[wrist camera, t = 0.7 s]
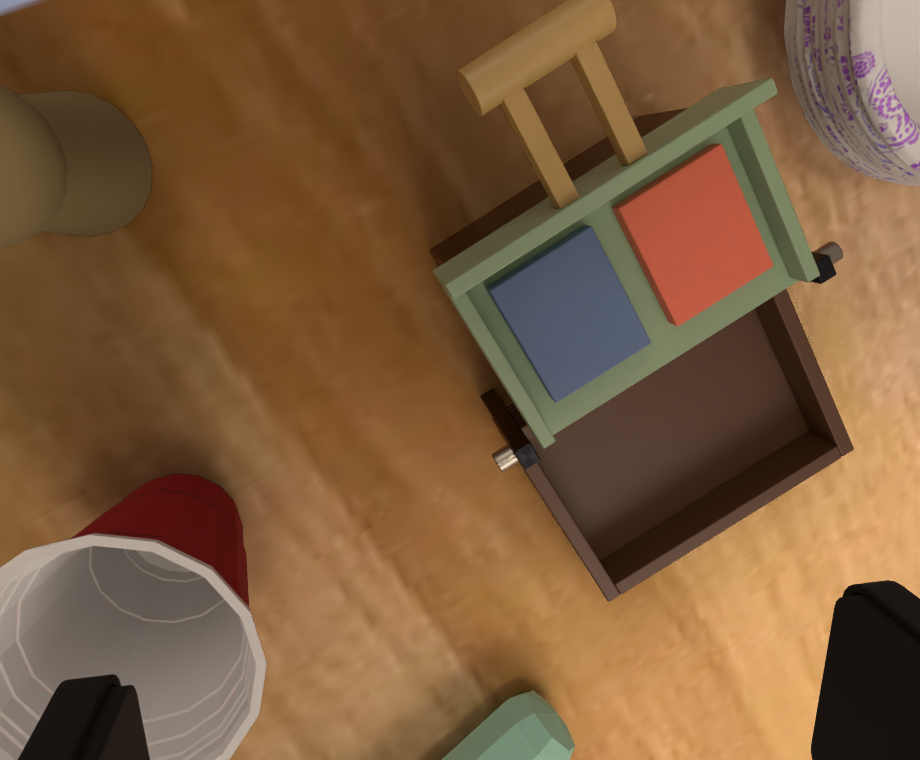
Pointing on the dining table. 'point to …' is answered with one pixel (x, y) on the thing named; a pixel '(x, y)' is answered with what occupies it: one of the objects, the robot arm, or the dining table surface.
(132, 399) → the dining table surface
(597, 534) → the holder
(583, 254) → the blue sachet
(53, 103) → the pepper mill
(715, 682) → the dining table surface
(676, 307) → the coral sachet
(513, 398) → the green handled tray
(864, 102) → the paper bowls
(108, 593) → the plastic cup
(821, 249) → the stand
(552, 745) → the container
